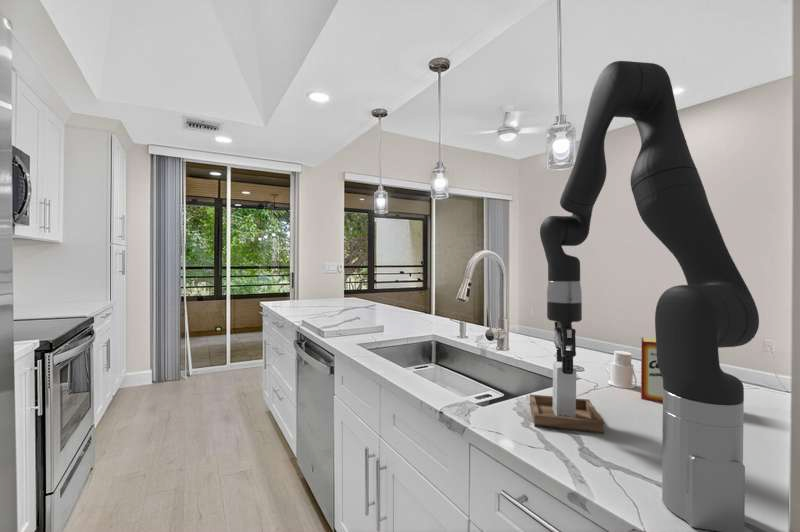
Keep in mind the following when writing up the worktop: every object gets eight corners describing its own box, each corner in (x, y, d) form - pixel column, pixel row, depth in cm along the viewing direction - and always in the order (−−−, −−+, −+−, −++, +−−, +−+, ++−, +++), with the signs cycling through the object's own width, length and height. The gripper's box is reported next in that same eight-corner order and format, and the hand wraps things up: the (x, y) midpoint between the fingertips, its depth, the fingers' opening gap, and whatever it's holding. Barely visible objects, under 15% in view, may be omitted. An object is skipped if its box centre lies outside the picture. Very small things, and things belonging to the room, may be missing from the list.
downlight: (601, 383, 114) (603, 351, 114) (612, 379, 118) (613, 348, 118) (630, 391, 108) (632, 357, 107) (640, 387, 112) (642, 354, 112)
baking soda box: (682, 398, 102) (682, 339, 102) (685, 406, 96) (685, 344, 96) (641, 392, 107) (641, 336, 107) (641, 398, 101) (641, 339, 101)
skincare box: (576, 421, 85) (576, 368, 85) (556, 419, 86) (556, 367, 86) (570, 411, 91) (570, 362, 91) (551, 409, 92) (552, 360, 92)
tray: (603, 434, 80) (604, 422, 80) (534, 426, 84) (534, 415, 84) (588, 409, 94) (589, 399, 93) (529, 403, 97) (529, 394, 97)
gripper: (588, 303, 81) (588, 378, 80) (575, 298, 94) (575, 363, 94) (550, 302, 83) (551, 376, 82) (543, 298, 96) (544, 361, 96)
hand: (564, 369), depth 88 cm, fingers open, 8 cm apart
